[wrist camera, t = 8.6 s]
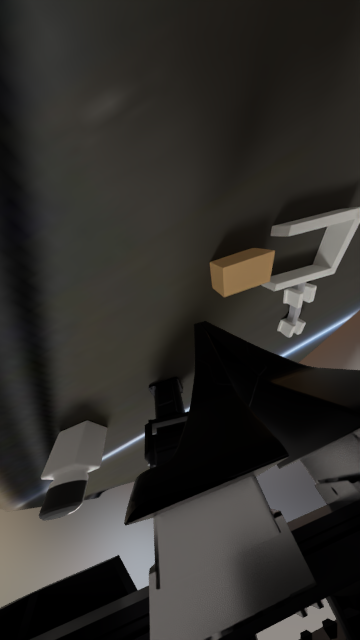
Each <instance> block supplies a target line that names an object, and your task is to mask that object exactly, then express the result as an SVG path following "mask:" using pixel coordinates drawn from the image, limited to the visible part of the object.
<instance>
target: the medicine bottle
mask: <svg viewBox="0 0 360 640" xmlns="http://www.w3.org/2000/svg"><path fill="white" fill-rule="evenodd" d="M106 433H107V427H104V426H101V425H99V424H96V423H93V422H91V421H88V420H86V421H84V422H82V423H80V424H77V425H75V426H73V427H70V428H68V429H66V430H63V431H61V432H60V433H59V435H58V437H57V440H56V442H55V444H54V447H53V449H52V452H51V454H50V456H49V459H48V461H47V464H46V466H45V468H44V471H43V473H42V476H41V479H51V480H54V481H53V482H52V483H51V484H50V486H49V489H48V492H47V494H46V497H45V500H44V502H43V505H42V508H41V511H40V514H39V517H40V519H42V520H51V519H56V518H60V517H63V516H65V515H68V514H70V513H72V512H74V511H76V510H77V509H78V508H79V507H80V506H81V505H82V503H83V499H84V494H85V490H86V485H87V481H88V476H89V475H87V473H88V472H91V471H93V470H95V469H98V468H99V467H100V466H101V461H102V455H103V450H104V444H105V439H106Z"/></svg>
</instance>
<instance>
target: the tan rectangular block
mask: <svg viewBox="0 0 360 640" xmlns="http://www.w3.org/2000/svg"><path fill="white" fill-rule="evenodd" d="M274 254H275V251H274V250H268V249H261V248H251V249H248V250H245V251H242V252H239V253H236V254H233V255H230V256H227V257H224V258H221V259H218V260H215V261H212V262H210V270H211V279H212V288H213V289H215V290H216V291H217V292H218V293H220V294H221V295H222V296H223V297H227V296H230V295H232V294H235V293H238V292H241V291H244V290H247V289H250V288H253V287H256V286H258V285H261V284H264V283H267V282H270V277H271V272H272V266H273V260H274Z"/></svg>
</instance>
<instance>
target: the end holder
mask: <svg viewBox="0 0 360 640" xmlns="http://www.w3.org/2000/svg"><path fill="white" fill-rule="evenodd" d="M359 223H360V207H352V208H343V209H338V210H334V211H330V212H326V213H322V214H318V215H314V216H310V217H306V218H302V219H299V220H295V221H291V222H287V223H283V224H279V225H275V226H272V230H271V235H270V236H292V235H296V234H300V233H304V232H307V231H311V230H315V229H319V228H323V227H326V226H327V229H326V231H325V234H324V237H323V239H322V242H321V244H320V247H319V249H318V252H317V254H316V257H315V260H314V262H313V265H309V266H306V267H302V268H299V269H295V270H292V271H288V272H285V273H281V274H278V275H274V276H271V277H270V282H267V283H264V284H261V285H262V286H264V287H266V288H268V289H270V290H273V291H277V290H280V289H284V288H287V287H290V286H294V285H297V284H301V283H304V282H307V281H311V280H314V279H317V278H321V277H324V276H328V275H331V274H334V273H335V271H336V269H337V267H338V265H339V263H340V261H341V259H342V257H343V255H344V253H345V251H346V249H347V247H348V245H349V243H350V241H351V239H352V237H353V235H354V233H355V231H356V229H357V227H358V225H359Z"/></svg>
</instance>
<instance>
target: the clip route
mask: <svg viewBox="0 0 360 640" xmlns="http://www.w3.org/2000/svg"><path fill="white" fill-rule="evenodd" d="M316 287H317V286H315V285H312V284H309V283H306V282H304V283H301V284H297V285H294V286H291V287H289V288H287V289H285V290H284V301H283V303H287V304H289V305H290V309H289V314H288V317H287V318H285V319H282V320H280V323H279V326H278V329H277V331H280V332H281V333H283V334H284V335H286V336H287V337H288V338H289V337H292V335H293V332H294V333H296V334H297V335H298V334H301V332H302V330H303V328H304V326H305V324H306V322H304V321H303V320H301V319H299V318H298V317H299V315H300V312H301V307H302V301H303V300H304V301H306V302H308V303H310V302H312V301H313V300H314V296H315V291H316Z"/></svg>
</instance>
